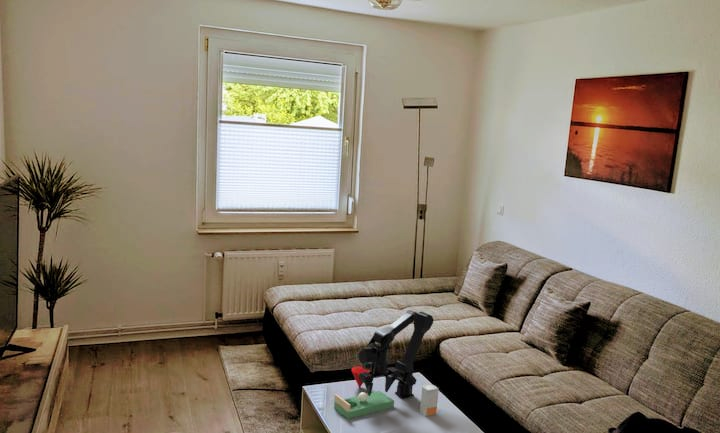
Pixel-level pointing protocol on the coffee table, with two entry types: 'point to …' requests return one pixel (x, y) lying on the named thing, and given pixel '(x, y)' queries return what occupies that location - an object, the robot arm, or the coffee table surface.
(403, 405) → the coffee table surface
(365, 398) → the ball
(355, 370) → the gemstone
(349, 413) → the putting mat
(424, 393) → the skincare box
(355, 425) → the coffee table surface
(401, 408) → the coffee table surface
